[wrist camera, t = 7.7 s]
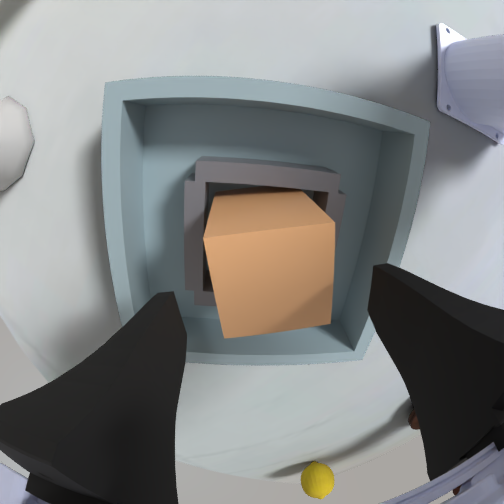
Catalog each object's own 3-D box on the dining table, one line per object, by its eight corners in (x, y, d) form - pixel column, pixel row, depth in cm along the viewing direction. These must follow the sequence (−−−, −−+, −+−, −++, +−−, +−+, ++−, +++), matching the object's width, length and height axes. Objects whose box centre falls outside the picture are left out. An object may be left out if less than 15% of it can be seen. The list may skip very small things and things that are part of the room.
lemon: (312, 454, 34) (320, 495, 27) (335, 455, 36) (345, 492, 29) (291, 466, 36) (297, 504, 29) (314, 467, 38) (321, 502, 30)
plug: (293, 183, 16) (335, 222, 9) (297, 253, 17) (330, 323, 11) (215, 191, 15) (203, 238, 9) (226, 261, 17) (224, 338, 11)
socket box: (389, 119, 15) (430, 121, 11) (343, 321, 22) (362, 359, 17) (136, 92, 13) (105, 82, 9) (144, 315, 20) (129, 355, 16)
